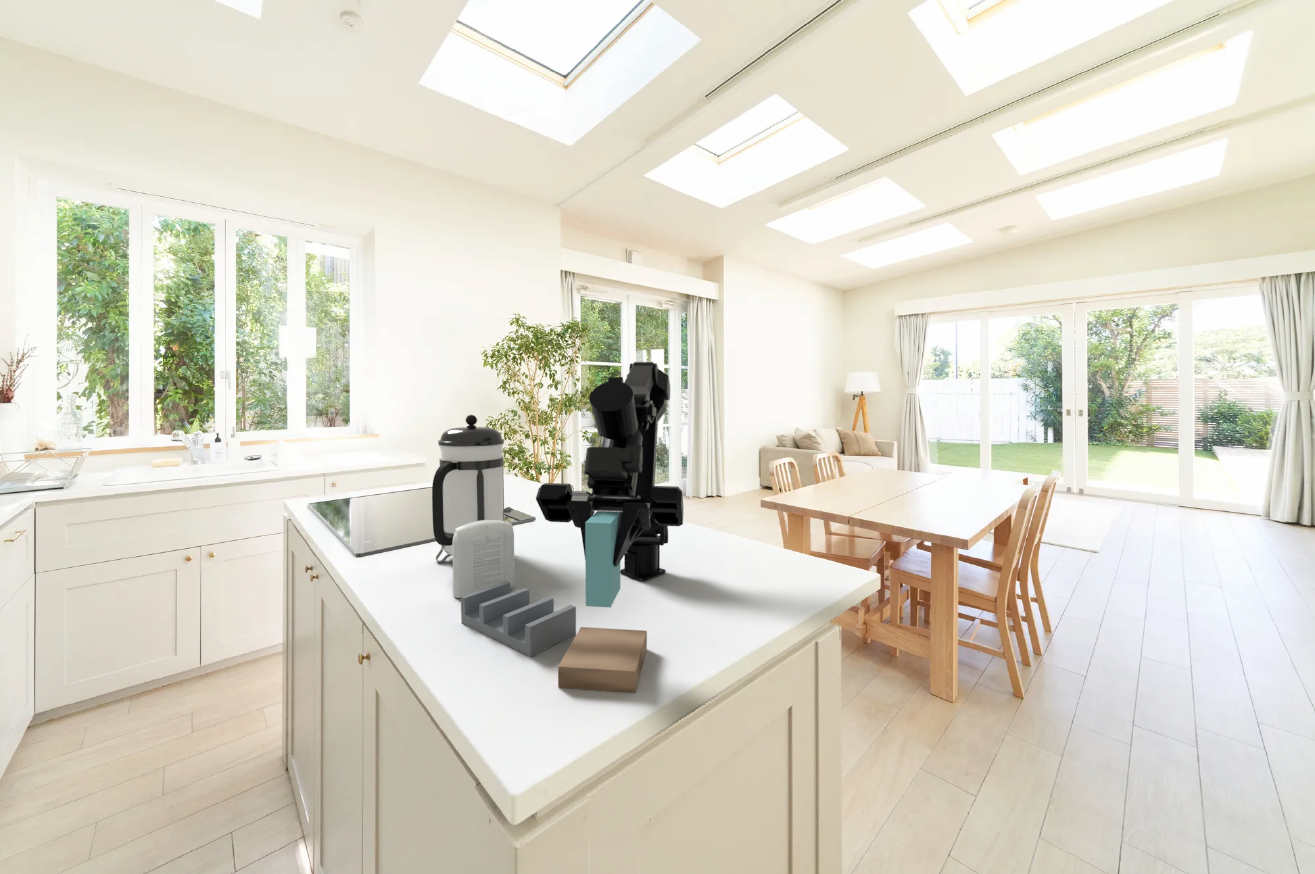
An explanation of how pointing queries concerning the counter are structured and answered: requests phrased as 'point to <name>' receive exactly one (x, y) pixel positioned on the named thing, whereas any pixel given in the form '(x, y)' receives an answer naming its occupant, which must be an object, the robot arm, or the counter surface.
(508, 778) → the counter surface
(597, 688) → the brown block
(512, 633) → the rack
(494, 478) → the coffee press
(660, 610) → the counter surface
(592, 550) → the thick teal slab
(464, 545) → the grey rounded slab
